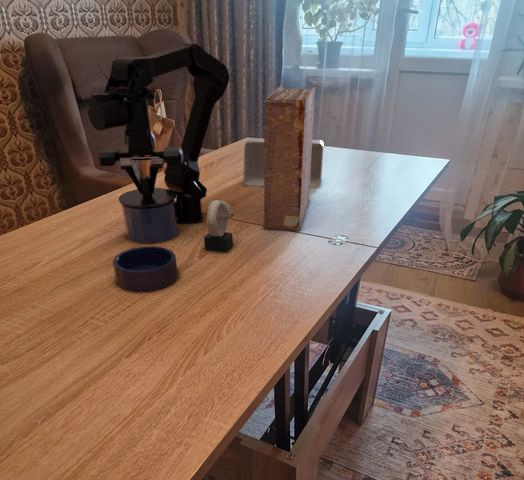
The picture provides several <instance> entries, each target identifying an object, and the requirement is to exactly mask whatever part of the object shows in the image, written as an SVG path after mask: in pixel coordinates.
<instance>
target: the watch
mask: <svg viewBox="0 0 524 480" xmlns="http://www.w3.org/2000/svg"><path fill="white" fill-rule="evenodd" d="M231 213H232V207H231V205H230V204H228V203H227V202H226V201H224V200H220V199H216V200H211V201H210V203H209V205H208V207H207V213H206V217H207V218H206V226H207V230H208V233H206V235H205V236H204V237H203V241H204V242H203V243H204V250H205V251H213V252H221V253H228V252H229V250H230V249H232V247H233V246H234V239H233V237H234V235H233V232H227V231H226V230H227V226H228V221H229V220H230V216H231Z"/></svg>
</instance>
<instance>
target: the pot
mask: <svg viewBox="0 0 524 480" xmlns="http://www.w3.org/2000/svg"><path fill="white" fill-rule="evenodd" d="M175 201H176V199H175V200H173V201H172V202H170V203H168V204H165V205H161V206H156V207H145V208H138V207H129V206H125V205H123V204H121V203H120V204H121V211H122V216H123V222H124V227H125V233H126V237H127V238H128V239H129V240H130V241H132V242H135V243H139V244H157V243H162V242H166V241H169V240H171V239H174V238H175V237H176V236H177V235H178V233H179V232H178V230H179V229H178V221H177V220H178V218H176V209H175Z"/></svg>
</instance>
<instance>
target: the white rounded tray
mask: <svg viewBox="0 0 524 480" xmlns="http://www.w3.org/2000/svg"><path fill="white" fill-rule="evenodd" d="M324 145H325V143H324V141H323V140H321V139H312V151H311V170H310V188H309V189H318V188H320V187H321V184H322V178H323V177H322V176H323V175H322V174H323V163H324V162H323V160H324V149H325V148H324ZM242 177H243V178H242V180H243V181H242V182H243V184H244V185H245V186H248V187H249V186H251V187H264V138H258V137H256V138H255V137H254V138H253V137H250V138H248V139H247V140H246V142H245V143H244V145H243V176H242Z"/></svg>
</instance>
